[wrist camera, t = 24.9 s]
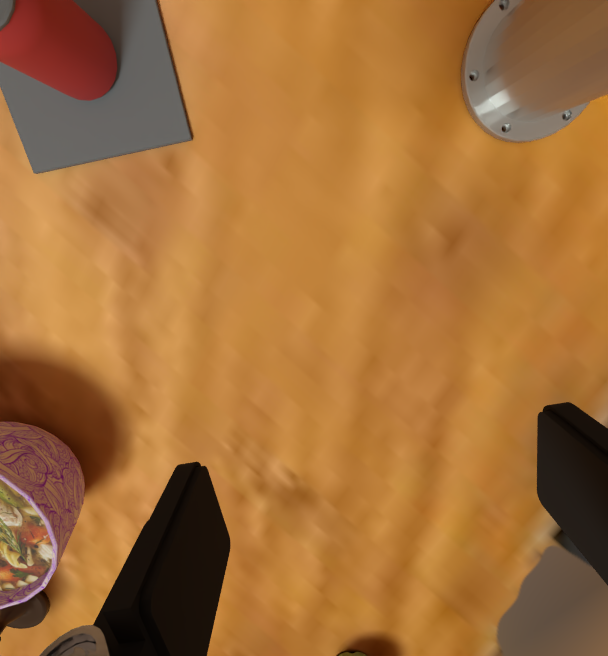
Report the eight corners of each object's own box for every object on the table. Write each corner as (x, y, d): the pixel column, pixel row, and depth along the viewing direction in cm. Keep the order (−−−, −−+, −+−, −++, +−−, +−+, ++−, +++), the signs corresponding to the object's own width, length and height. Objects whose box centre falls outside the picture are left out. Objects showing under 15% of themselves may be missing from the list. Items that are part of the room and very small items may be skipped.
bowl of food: (-32, 366, 42) (-152, 421, 31) (134, 426, 44) (77, 496, 33) (-53, 493, 48) (-160, 577, 37) (95, 539, 50) (36, 632, 39)
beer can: (74, 115, 34) (-44, 65, 22) (31, 38, 32) (-122, -60, 20) (134, 83, 33) (44, 13, 21) (94, 2, 31) (-29, -122, 20)
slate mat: (138, -70, 30) (136, -74, 29) (192, 140, 35) (190, 139, 34) (-39, -25, 31) (-44, -28, 30) (37, 173, 36) (33, 173, 35)
